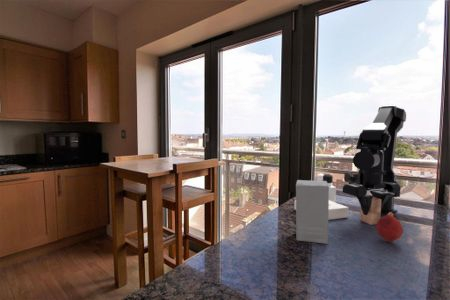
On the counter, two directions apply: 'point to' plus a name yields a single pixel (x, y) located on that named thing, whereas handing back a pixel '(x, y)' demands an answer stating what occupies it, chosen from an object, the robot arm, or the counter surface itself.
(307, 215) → the skincare box
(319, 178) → the medicine bottle
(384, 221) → the onion
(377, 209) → the peg
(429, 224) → the counter surface
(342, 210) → the socket block
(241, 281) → the counter surface
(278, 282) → the counter surface
